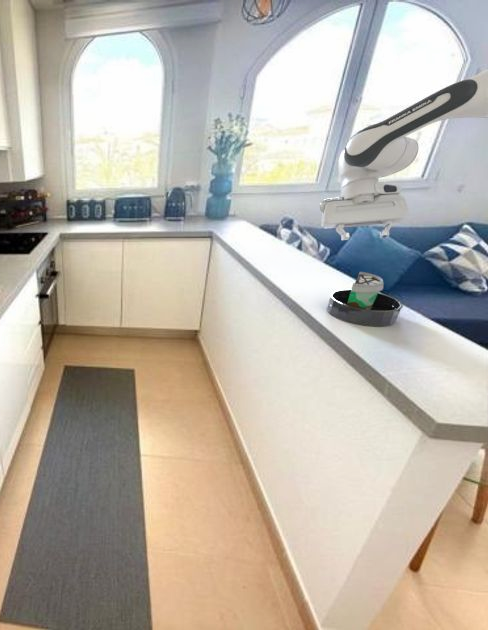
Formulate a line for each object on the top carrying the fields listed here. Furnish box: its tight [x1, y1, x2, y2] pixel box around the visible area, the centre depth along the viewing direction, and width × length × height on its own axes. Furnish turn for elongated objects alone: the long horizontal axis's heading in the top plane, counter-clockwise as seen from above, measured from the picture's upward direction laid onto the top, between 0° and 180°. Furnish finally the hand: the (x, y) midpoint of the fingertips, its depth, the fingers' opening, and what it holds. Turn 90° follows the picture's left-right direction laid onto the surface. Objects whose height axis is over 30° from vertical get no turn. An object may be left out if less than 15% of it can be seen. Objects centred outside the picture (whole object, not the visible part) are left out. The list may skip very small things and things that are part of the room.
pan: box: [326, 288, 404, 328], centre depth 97 cm, size 16×16×4 cm
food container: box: [347, 271, 385, 310], centre depth 95 cm, size 12×6×10 cm, turn 136°
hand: (365, 238), depth 101 cm, fingers open, 8 cm apart
